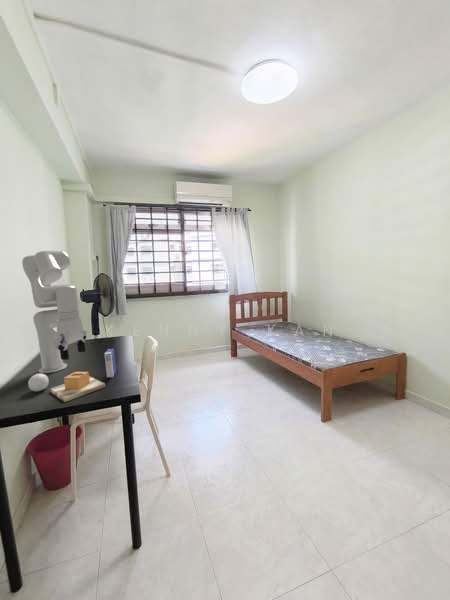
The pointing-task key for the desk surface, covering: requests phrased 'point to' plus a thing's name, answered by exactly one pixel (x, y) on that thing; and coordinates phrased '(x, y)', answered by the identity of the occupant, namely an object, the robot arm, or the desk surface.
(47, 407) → the desk surface
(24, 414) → the desk surface
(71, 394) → the board
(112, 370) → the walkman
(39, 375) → the white egg
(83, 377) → the orange block
